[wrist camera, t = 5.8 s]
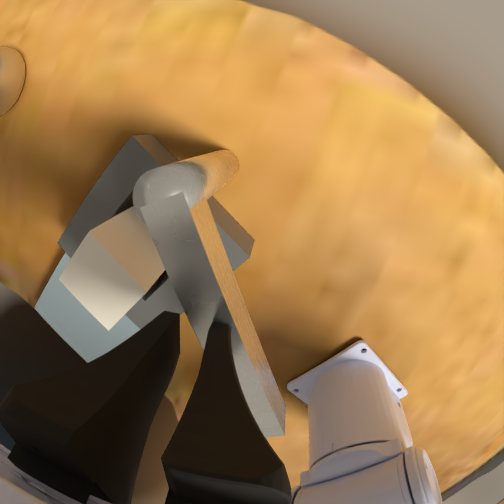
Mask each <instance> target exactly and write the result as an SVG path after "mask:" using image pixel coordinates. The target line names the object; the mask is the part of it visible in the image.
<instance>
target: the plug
mask: <svg viewBox="0 0 504 504" xmlns="http://www.w3.org/2000/svg"><path fill="white" fill-rule="evenodd" d="M164 271H165V268H164V265H163V263H162V261H161V258H160V256H159V254H158V251H157V249H156V247H155V244H154V242H153V239H152V237H151V235H150V232H149V230H148V227H147V225H146V224H145V223H144V222H143V221H142V220H141V219H140V218H139V216H138V215H137V213H136V211H135V208H134V206H132V207H131V208H129V209H127V210H125V211H123V212H122V213H120V214H118V215H116V216H114V217H113V218H111V219H109V220H107V221H106V222H104V223H102V224H100V225H99V226H97V227H95V228H94V229H92V230H90V231H89V232H88V234H87V235H86V236H85V238H84V239H83V241H82V242H81V244H80V245H79V247H78V248H77V250H76V252H75V253H74V255H73V256H72V258H71V259H70V261H69V262H68V264H67V266H66V267H65V269H64V270H63V272H62V274H61V275H60V277H59V280H60V281H61V282H62V284H63V285H64V286H65V287H66V288H67V289H68V290H69V291H70V292H71V293H72V294H73V295H74V297H75V298H76V299H77V300H78V301H79V302H80V303H81V304H82V305H83V306H84V307H85V308H86V309H87V310H88V311H89V312H90V313H91V314H92V315H93V316H94V317H95V318H96V319H97V320H98V321H99V322H100V323H101V324H102V325H103V326H104V327H105V328H106V329H107V330H108V331H109V330H110V329H111V328H112V327H113V326H114V325H115V324H116V323H117V322H118V321H119V320H120V319H121V318H122V317H123V316H124V315H125V314H126V313H127V312H128V311H129V310H130V309H131V308H132V307H133V306H134V305H135V304H136V303H137V302H138V301H139V300H140V299H141V298H142V297H143V296H144V295H145V294H146V293H147V292H148V290H149V289H150V288H151V287H152V285H153V284H154V283H155V282H156V280H157V279H158V278H159V277H160V275H161V274H162V273H163V272H164Z"/></svg>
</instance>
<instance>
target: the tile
mask: <svg viewBox="0 0 504 504" xmlns="http://www.w3.org/2000/svg"><path fill="white" fill-rule="evenodd" d="M70 259H71V258H70V257H69V256H68V254H67V253H66V252H65V254H64V256H63V257H62V259H61V261H60V262H59V264H58V266H57V267H56V269H55V271H54V273H53V274H52V276H51V278H50V280H49V281H48V283H47V285H46V287H45V289H44V291H43V292H42V294H41V296H40V298H39V300H38V302H37V304H36V306H35V309H36V311H37V312H38V313H39V314H40V315H41V316H42V317H43V318H44V319H45V320H46V321H47V323H48V324H49V325H50V326H51V327H52V328H53V329H54V330H55V331H56V332H57V333H58V334H59V335H60V336H61V337H62V338H63V339H64V340H65V341H66V342H67V343H68V344H69V345H70V346H71V347H72V348H73V349H74V350H75V351H76V352H77V353H78V354H79V355H80V356H81V357H82V358H83V359H84V360H85V361H87V362H90V361H92V360H94V359H96V358H98V357H100V356H102V355H104V354H105V353H107V352H109V351H110V350H112V349H113V348H115V347H116V346H118V345H119V344H121V343H122V342H124V341H125V340H127V339H128V338H130V337H131V336H132V335H134V334H135V333H136V332H138V331H139V330H140V328H139V327H138V326H137V325H136V324H135V323H133V322H132V321H131V320H130V319H129V318H128V317H127V316H126V315H124V316H123V317H122V318H121V319H120V320H119V321H118V322H117V323H116V324H115V325H114V326H113V327H112V328H111V329H110V330H109V331H108V330H107V329H106V328H105V327H104V326H103V325H102V324H101V323H100V322H99V321H98V320H97V319H96V318H95V317H94V316H93V315H92V314H91V313H90V312H89V311H88V310H87V309H86V308H85V307H84V306H83V305H82V304H81V303H80V302H79V301H78V300H77V299H76V298H75V297H74V295H73V294H72V293H71V292H70V291H69V290H68V289H67V288H66V287H65V286H64V285H63V284H62V282H61V281H60V280H59V277H60V275H61V274H62V272H63V270H64V269H65V267H66V266H67V264H68V262H69V261H70Z"/></svg>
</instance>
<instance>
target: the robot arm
mask: <svg viewBox="0 0 504 504" xmlns="http://www.w3.org/2000/svg"><path fill="white" fill-rule="evenodd" d="M231 329H232V328H231V327H230V326H229V325H226V324H220V323H214V322H212V324H211V326H210V328H209V330H208V334H207V339H206V343H205V348H204V353H203V358H202V363H201V367H200V371H199V375H198V378H197V380H196V383H195V385H194V388H193V391H192V393H191V396H190V398H189V400H188V403H187V405H186V408H185V410H184V412H183V415H182V417H181V419H180V421H179V424H178V426H177V428H176V430H175V432H174V434H173V436H172V438H171V440H170V442H169V444H168V446H167V448H166V450H165V451H164V454H163V455H162V457H161V460H162V464H163V467H164V471H165V475H166V479H167V482H168V486H169V491H168V494H167V498H166V501H165V504H442V497H441V493H440V489H439V485H438V481H437V478H436V475H435V472H434V469H433V467H432V464H431V462H430V459H429V457H428V455H427V453H426V451H425V450H424V449H422V448H419V447H417V446H415V445H413V441H412V437H411V434H410V430H409V427H408V424H407V420H406V417H405V414H404V411H403V408H402V404H401V401H400V399H401V398H403V397H405V396H406V395H407V393H408V392H407V389H406V388H405V387H404V386H403V384H402V383H401V382H400V381H399V380H398V379H397V377H396V376H395V375H394V374H393V373H392V372H391V371H390V369H389V368H388V367H387V366H386V365H385V364H384V362H383V361H382V360H381V359H380V358H379V357H378V356H377V354H376V353H375V352H374V351H373V350H372V349H371V348H370V347H369V345H368V344H367V343H366V342H365V341H364V340H359V341H357V342H355V343H354V344H352V345H351V346H349V347H348V348H346V349H344V350H343V351H341V352H340V353H338V354H336V355H335V356H333V357H332V358H330V359H328V360H327V361H325V362H323V363H322V364H320V365H318V366H317V367H315V368H313V369H312V370H310V371H308V372H307V373H305V374H303V375H301V376H300V377H298V378H296V379H294V380H292V381H291V382H289V383H288V384H287V389H288V390H289V391H290V392H291V393H293V394H294V395H295V396H297V397H298V398H299V399H300V400H302V401H303V402H304V403H306V404H307V405H308V420H309V467H310V469H309V470H307V471H305V472H302V473H301V474H300V485H299V486H296V487H294V488H292V489H291V487H290V482H289V478H288V475H287V472H286V469H285V466H284V464H283V462H282V461H281V460H280V458H279V457H278V456H277V454H276V453H275V452H274V450H273V449H272V447H271V446H270V444H269V443H268V441H267V440H266V438H265V436H264V435H263V433H262V432H261V430H260V428H259V426H258V424H257V422H256V420H255V418H254V417H253V415H252V413H251V411H250V408H249V406H248V404H247V401H246V399H245V396H244V394H243V391H242V388H241V385H240V382H239V379H238V375H237V372H236V368H235V363H234V358H233V353H232V345H231ZM364 348H365V350H362V349H364ZM179 355H180V314H179V313H174V312H169V311H163V312H162V313H161V314H159V315H158V316H157V317H155V318H154V319H153V320H152V321H150V322H149V323H148V324H147V325H145V326H144V327H143V328H142V329H140V330H139V331H138V332H136V333H135V334H134V335H132V336H131V337H130V338H128V339H127V340H125V341H124V342H122V343H121V344H119V345H118V346H116V347H115V348H113V349H112V350H110V351H109V352H107V353H105V354H104V355H102V356H100V357H98V358H96V359H94V360H92V361H90V362H88V363H86V364H84V365H81V366H79V367H77V368H74V369H72V370H70V371H67V372H64V373H62V374H59V375H56V376H52V377H49V378H46V379H42V380H38V381H33V382H28V383H23V384H17V385H14V386H13V387H12V389H11V390H10V391H9V393H8V394H7V395H6V397H5V398H4V399H3V400H2V402H1V403H0V422H1V424H2V425H3V427H4V428H5V429H6V431H7V432H8V433H9V435H10V436H11V437H12V438H13V440H14V441H15V442H16V444H15V446H14V447H13V449H12V450H11V451H9V450H8V449H6V448H5V447H4V446H2V445H1V444H0V504H54V503H53V502H52V501H51V500H49V499H48V497H46V495H44V494H43V493H41V492H40V491H38V490H37V489H35V488H34V487H33V486H35V487H36V488H38V489H40V490H41V491H43V492H45V493H47V494H49V495H50V496H52V497H54V498H56V499H58V500H60V501H61V502H63V503H65V504H131V500H132V495H133V490H134V485H135V480H136V476H137V472H138V468H139V464H140V460H141V457H142V453H143V449H144V446H145V442H146V439H147V436H148V433H149V429H150V426H151V423H152V421H153V418H154V416H155V414H156V411H157V409H158V407H159V405H160V403H161V400H162V398H163V396H164V394H165V392H166V390H167V387H168V385H169V383H170V381H171V379H172V376H173V374H174V371H175V368H176V365H177V361H178V358H179ZM398 388H399V389H398ZM296 389H297V390H296ZM29 483H30V484H32V485H33V486H31V485H30V484H29Z"/></svg>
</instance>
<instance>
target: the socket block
mask: <svg viewBox="0 0 504 504" xmlns="http://www.w3.org/2000/svg"><path fill="white" fill-rule="evenodd" d="M174 162H178V160H177V159H176V158H175V157H174V156H173V155H172V154H171V153H170V152H169V151H168V150H167V148H166V147H165V146H164V145H163V144H162V143H161V142H160V141H159V140H158V139H157V138H156V137H155V136H154V135H153V134H145V135H132V136H131V137H130V138H129V140H128V141H127V142H126V143H125V145H124V146H123V147H122V148H121V150H120V151H119V152H118V154H117V155H116V156H115V157H114V159H113V160H112V161H111V163H110V164H109V165H108V167H107V168H106V169H105V171H104V172H103V174H102V175H101V176H100V178H99V179H98V180H97V182H96V183H95V185H94V186H93V188H92V189H91V190H90V192H89V193H88V195H87V196H86V198H85V199H84V201H83V202H82V204H81V205H80V207H79V208H78V210H77V212H76V213H75V215H74V216H73V218H72V219H71V221H70V223H69V224H68V226H67V228H66V229H65V231H64V233H63V234H62V236H61V238H60V239H59V241H58V244H59V245H60V246H61V248H62V249H63V250H64V251H65V252H66V253H67V254H68V256H69V257H70V258H72V256H73V255H74V253H75V252H76V250H77V248H78V247H79V245H80V244H81V242H82V241H83V239H84V238H85V236H86V235H87V234H88V232H89V231H90V230H92V229H94V228H95V227H97V226H99V225H100V224H102V223H104V222H106V221H107V220H109V219H111V218H113V217H114V216H116V215H118V214H120V213H122V212H123V211H125V210H127V209H129V208H131V207H132V205H133V190H134V186H135V184H136V182H137V180H138V179H139V178H140V177H141V176H142V175H143V174H144V173H145V172H147V171H149V170H152V169H155V168H158V167H161V166H164V165H168V164H171V163H174ZM207 202H208V205H209V208H210V210H211V213H212V216H213V219H214V222H215V224H216V227H217V230H218V232H219V235H220V238H221V241H222V243H223V246H224V249H225V251H226V254H227V257H228V260H229V262H230V265H231V268H232V270H233V271H234V270H235V269H236V268H237V267H239V266H240V265H241V264H242V263H244V262H245V261H246V260H247V259H248V258H250V255H251V251H252V247H253V244H254V239H253V238H252V237H251V236H250V235H249V234H248V233H247V232H246V231H245V229H244V228H243V227H242V226H241V225H240V224H239V223H238V222H237V221H236V220H235V219H234V218H233V217H232V216H231V215H230V214H229V213H228V212H227V211H226V210H225V209H224V208H223V206H222V205H221V204H220V203H219V202H218V201H217V200H216V199H215V198H214V197H213V196H211V197H210V198H209V199H208V200H207ZM163 311H169V312H174V313H179V314H180V315H181V314H182V313H183V312H184V309H183V307H182V305H181V303H180V301H179V299H178V296H177V294H176V292H175V290H174V288H173V285H172V283H171V281H170V279H169V277H168V275H166V276H165V277H164V278H163V279H162V280H161V281H159V280H158V279H157V280H156V282H155V283H154V284H153V285H152V287H151V288H150V289H149V290H148V292H147V293H146V294H145V295H144V296H143V297H142V298H141V299H140V300H139V301H138V302H137V303H136V304H135V305H134V306H133V307H132V308H131V309H130V310H129V311H128V312H127V313H126V314H125V315H126V316H127V317H128V318H129V319H130V320H131V321H132V322H133V323H135V324H136V325H137V326H138V327H139V328H140V329H142V328H143V327H144V326H145V325H147V324H148V323H149V322H150V321H152V320H153V319H154V318H155V317H157V316H158V315H159V314H161V313H162V312H163Z"/></svg>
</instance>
